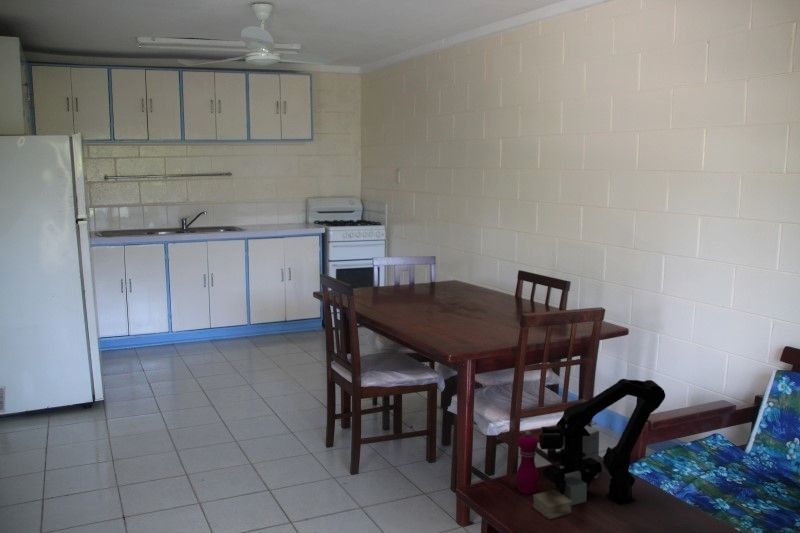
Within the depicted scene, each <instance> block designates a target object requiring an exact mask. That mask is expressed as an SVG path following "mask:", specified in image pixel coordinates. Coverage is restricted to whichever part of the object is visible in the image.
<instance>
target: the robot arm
mask: <svg viewBox="0 0 800 533" xmlns="http://www.w3.org/2000/svg"><path fill="white" fill-rule="evenodd" d="M627 396H631V397H635V398H636V402H635V404H636V405H635V407H634V409H633V411H632V413H631V415H630V417H629V420H628V421H627V423H626V426H625V428H624V429H623V431H622V434H621V436H620V438H619V440H618V442H617V444H616V445H615V446H613V447H612V448H611V447H609V446H607V449H606V452H605V454H604V455H603V456H602V459H603V461H602V463H601V462H600V461H599V462H598V461H596V460H594V459H593V458H586V459H583V457H585V453H584V452H583V436H590V433H589V432H588V431H587V430H586V429H585V426H586V425H587V426H589V424H590V423H591V422H592V420H593V418H594V417H595V416H596V415H597V414H599V413H600V412H603V411H604V410H606V409H608V408H609V407H610V406H612V405H613V404H615V403H617V402H618V401H620V400H622V399H623V398H625V397H627ZM665 399H666V392H665V390H664V389H663V388H662V387H661V386H660V384H658V383H656V381H654V380H651V379H647V380H639V379H627V378H621V379H619V380H618V381H617V382H616V383H614V384H613V385H611V386H609V387H608V388H606V389H605V390H603V391H601V392H600V393H597V395H595V396H593V397H592V398H590V399H589V400H587V401H585V402H579V403H576V404H573V405H571V406H569V407H566V409H564V410H563V414H562V416H561V418H560V419H559V420H558V421H557V423H556V424H555V427H554V426H552V427H550V426H549V427H547V426H542V427H541V429H540V432H539V435H538V436H539V437H538V438H539V439H538V440H539V441H538V442H539V446H540V450H548V451H547V459H548V461H549V462H552V463H554V464H555V463H558V465H559V466H560V465H561V466H564V468H562V469H560V467H557V466H556V465H552V466H551V465H550V466H547V467H544V468H543V472H542V473H543V474H542V476H543V477H545V478H546V479H547V480H549V481H550V482H552V483H554V485H555V488H556V490H557V491H558V492H560V493H561V494H563V495H564V491H565V486H566V481H565V480H564V479H565V478H566V477H565V475H566V474H571V473H575V472H579V471H580V473H581V480H582V481H583V482H585V483H587V489H588V488H589V486H590V485H591V483H592V482H593V480H595V479H594V477H595V476H597V475H598V476H599V474H600V473H602V472H603V467H604V469H605V470H606V471H607V473H608V474H609V476H610V477H611V478H610V479H609V484H608V493H606V495H605V496H606V497H608V498H609V499H611V500H613V501H614V502H616V503H617V504H618V505H621V504H626V503H631V502H635V501H636V498H635V497H634V496H633V486H634V484H635V481H636V478H635V477H634V476H633V475H632V473H631V472H630V471H629V469H630V467H631V456H632V452H633V450H634V448H635V446H636V444H637V442H638V440H639V438H640V436H641V434H642V432H643V429H644V428H645V425H646V424H647V422H648V419H649V417H650V416H651V415H652V413H653V412H655V411H656V410H657V409H658V408H659V407H660V406H661V405H662V403H663V402H664V401H665ZM566 425H567V427H566ZM563 444H564V449H561V451H560V448H562V446H563ZM556 450H558V451H556ZM602 464H603V466H602Z"/></svg>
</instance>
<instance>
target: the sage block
mask: <svg viewBox="0 0 800 533" xmlns="http://www.w3.org/2000/svg"><path fill="white" fill-rule="evenodd" d="M564 480H565V481H566V486H565V491H564V496H565V497H567V498H568V499H570V500H571V501H572V503H571V506H574V505H578V504H582V503H586V502H587V493H588V492H587V489H588V488H587V483H585V482H583V481H582V480H580V479H579V478H577V477H576V476H572V477H568V478H566V477H565V479H564Z"/></svg>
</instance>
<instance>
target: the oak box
mask: <svg viewBox="0 0 800 533" xmlns="http://www.w3.org/2000/svg"><path fill="white" fill-rule="evenodd" d="M532 497H533V509H535V510H537V511H538V512H539V513H540V514H542V515H543V516H544V517H545V518H547V519H548V520H553V519H555V518H559V517H563V516H567V515H570V514H572V505H571V503H572V501H571V500H570V499H568V498H567V497H565V496H564V495H563V494H561V493H560V492H558V491H557V489H551V490H547V491H543V492H538V493H534V494H532Z"/></svg>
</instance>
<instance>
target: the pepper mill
mask: <svg viewBox="0 0 800 533" xmlns="http://www.w3.org/2000/svg"><path fill="white" fill-rule="evenodd" d="M518 446H519V448H520V449H519V451H520V452H519V454H520V456H521V457H520V463H519V466H518V468H517V471H516V475H515V476H516V477H515V478H516V480H517V481H518V483H517V490H518V491H519V493H523V494H526V495H531V494H532V495H533V494H536V493H537V491H538V484H537V483H538V482H539V480H540V475H539V471H538V468H537V466H536V463H535V457H536V452H537V450H536V449H537V447H538V440H537V438H536V437H535V436H534V435H532V432H531V431H529V430H526V431H525V432H524V434H523V435H521V436H520V437H519V439H518Z"/></svg>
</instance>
